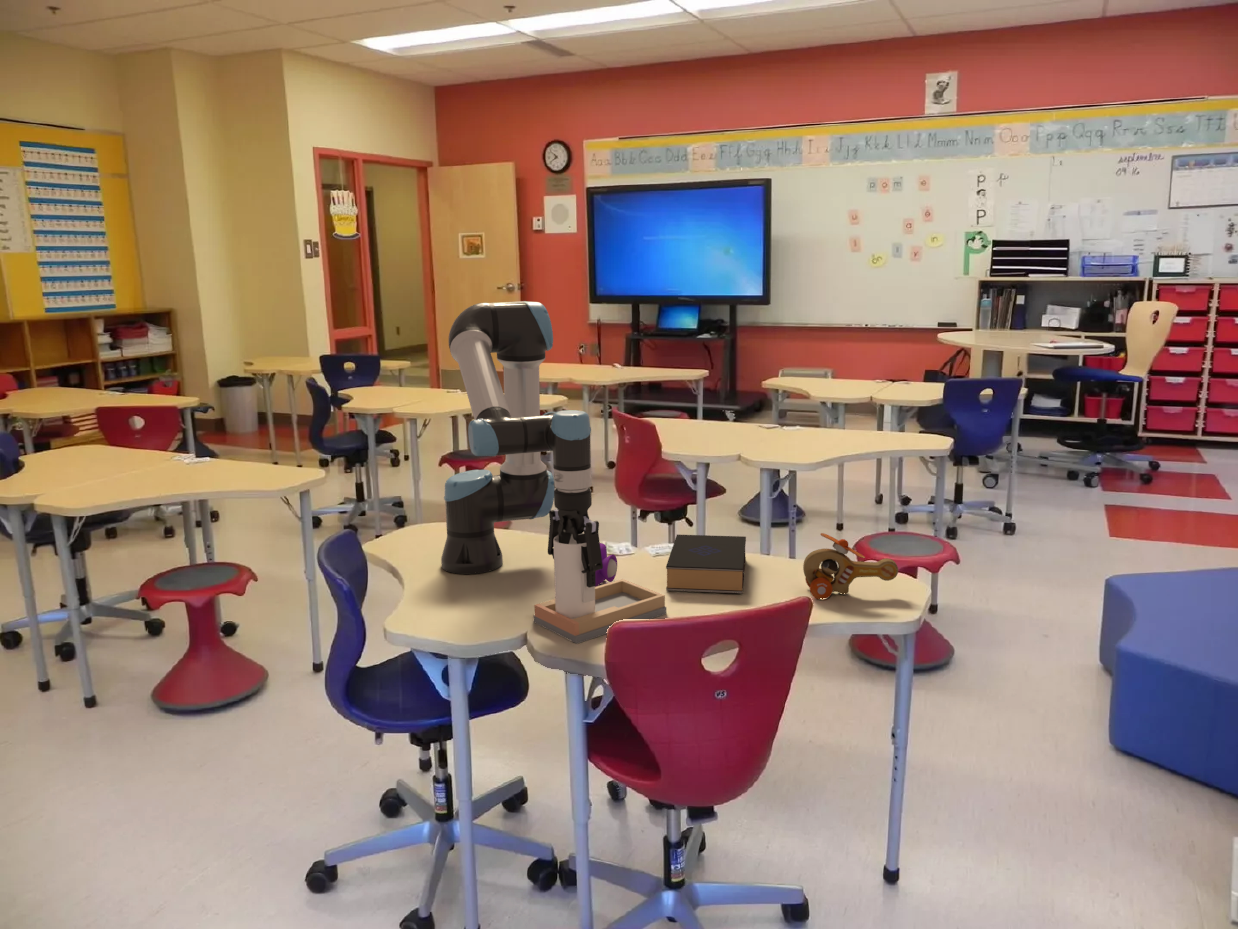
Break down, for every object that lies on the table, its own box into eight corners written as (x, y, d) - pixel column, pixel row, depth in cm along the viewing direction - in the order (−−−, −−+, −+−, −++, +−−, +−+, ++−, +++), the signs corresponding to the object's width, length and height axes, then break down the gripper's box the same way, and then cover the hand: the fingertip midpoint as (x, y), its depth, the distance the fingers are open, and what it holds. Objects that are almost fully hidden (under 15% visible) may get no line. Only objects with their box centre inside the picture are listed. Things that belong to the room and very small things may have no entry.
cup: (555, 606, 197) (553, 533, 194) (594, 604, 198) (592, 531, 194) (556, 621, 189) (553, 545, 186) (596, 619, 190) (595, 543, 186)
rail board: (533, 622, 196) (533, 604, 195) (621, 595, 211) (621, 578, 210) (576, 643, 185) (576, 624, 184) (666, 613, 200) (666, 595, 199)
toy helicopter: (800, 587, 214) (801, 530, 211) (892, 587, 213) (894, 530, 210) (805, 600, 206) (807, 540, 203) (900, 600, 205) (904, 540, 202)
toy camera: (613, 594, 212) (612, 552, 210) (555, 591, 215) (553, 549, 213) (622, 578, 222) (622, 538, 220) (567, 575, 225) (565, 535, 223)
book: (745, 561, 234) (746, 536, 233) (742, 597, 210) (743, 568, 209) (676, 559, 237) (676, 534, 236) (666, 594, 213) (665, 566, 211)
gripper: (527, 482, 193) (531, 586, 198) (590, 501, 178) (592, 614, 183) (557, 476, 198) (560, 578, 203) (620, 494, 182) (621, 604, 187)
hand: (575, 595), depth 193 cm, fingers closed on cup, 8 cm apart
